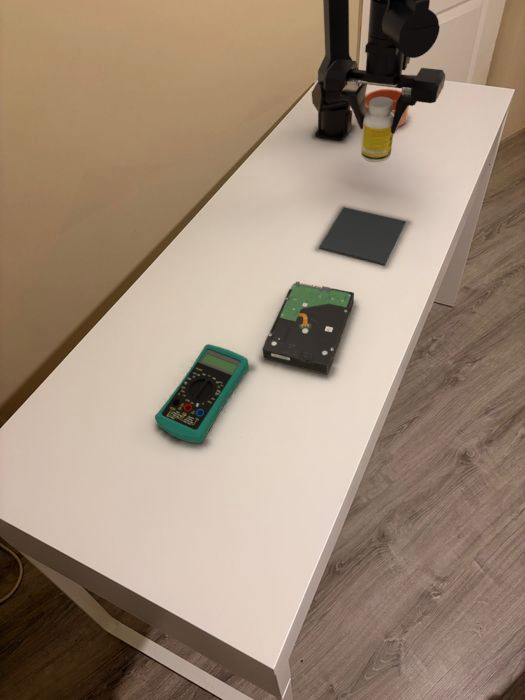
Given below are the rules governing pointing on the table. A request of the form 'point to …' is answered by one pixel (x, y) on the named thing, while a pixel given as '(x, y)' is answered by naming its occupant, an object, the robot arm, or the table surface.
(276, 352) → the disk drive
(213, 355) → the digital multimeter
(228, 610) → the table surface
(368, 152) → the supplement bottle
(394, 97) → the dish
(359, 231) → the mat
